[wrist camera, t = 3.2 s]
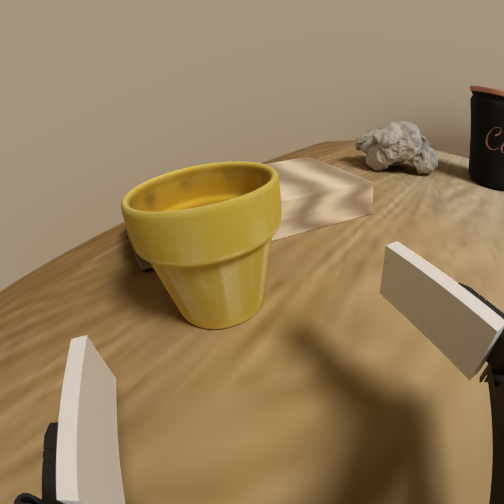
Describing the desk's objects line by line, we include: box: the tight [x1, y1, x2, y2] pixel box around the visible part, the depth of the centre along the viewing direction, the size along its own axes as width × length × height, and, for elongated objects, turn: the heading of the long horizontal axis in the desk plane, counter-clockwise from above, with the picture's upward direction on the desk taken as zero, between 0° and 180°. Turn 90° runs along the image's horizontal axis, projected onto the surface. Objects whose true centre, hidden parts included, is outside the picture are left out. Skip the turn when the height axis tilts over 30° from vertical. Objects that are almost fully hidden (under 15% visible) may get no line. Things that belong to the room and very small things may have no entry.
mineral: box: [355, 121, 438, 174], centre depth 47 cm, size 12×17×10 cm
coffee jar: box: [468, 86, 504, 191], centre depth 35 cm, size 11×11×18 cm
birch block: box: [265, 157, 373, 241], centre depth 37 cm, size 16×16×4 cm
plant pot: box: [121, 161, 281, 329], centre depth 21 cm, size 10×10×10 cm
